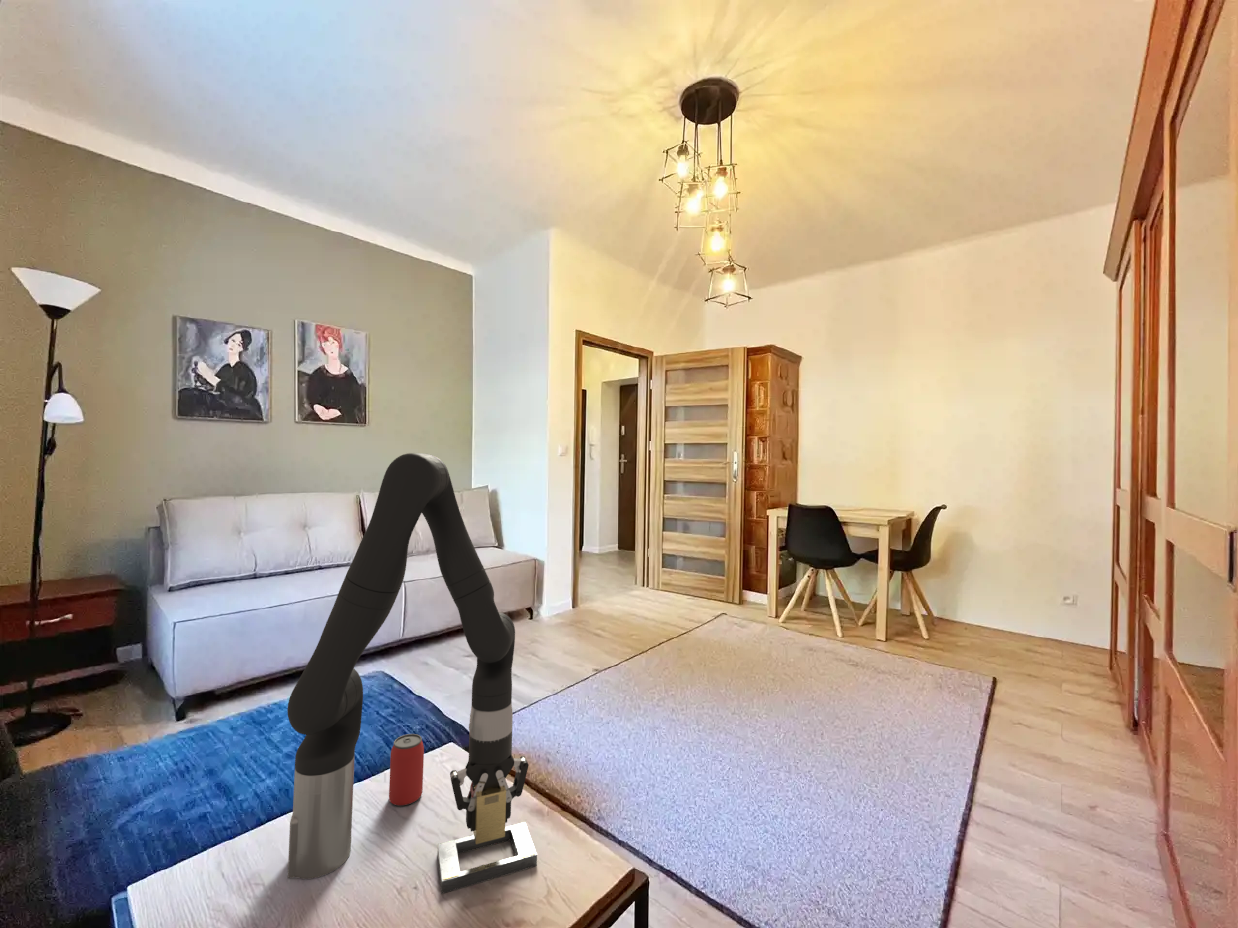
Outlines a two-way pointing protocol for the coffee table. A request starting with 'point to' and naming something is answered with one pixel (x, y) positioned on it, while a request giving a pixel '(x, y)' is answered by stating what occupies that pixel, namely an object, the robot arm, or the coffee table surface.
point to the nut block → (490, 814)
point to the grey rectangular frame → (456, 879)
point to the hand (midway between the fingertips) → (488, 823)
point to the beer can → (406, 770)
